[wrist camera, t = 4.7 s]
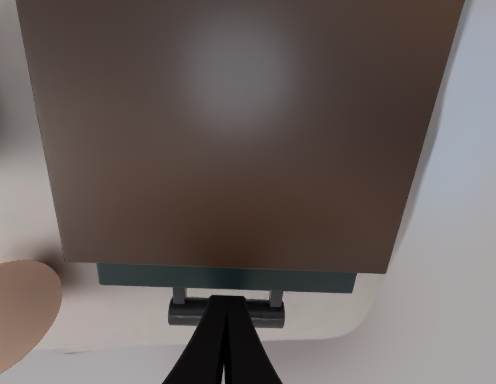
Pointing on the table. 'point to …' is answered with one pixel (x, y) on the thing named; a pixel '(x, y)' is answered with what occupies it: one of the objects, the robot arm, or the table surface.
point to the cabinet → (234, 126)
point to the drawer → (225, 287)
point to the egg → (26, 307)
